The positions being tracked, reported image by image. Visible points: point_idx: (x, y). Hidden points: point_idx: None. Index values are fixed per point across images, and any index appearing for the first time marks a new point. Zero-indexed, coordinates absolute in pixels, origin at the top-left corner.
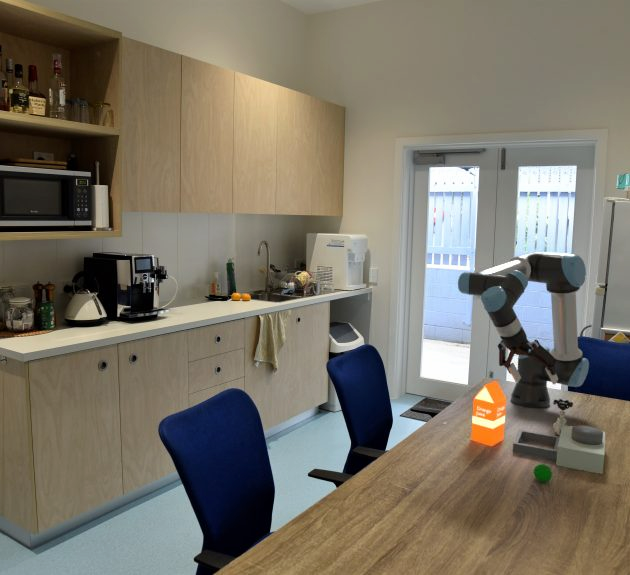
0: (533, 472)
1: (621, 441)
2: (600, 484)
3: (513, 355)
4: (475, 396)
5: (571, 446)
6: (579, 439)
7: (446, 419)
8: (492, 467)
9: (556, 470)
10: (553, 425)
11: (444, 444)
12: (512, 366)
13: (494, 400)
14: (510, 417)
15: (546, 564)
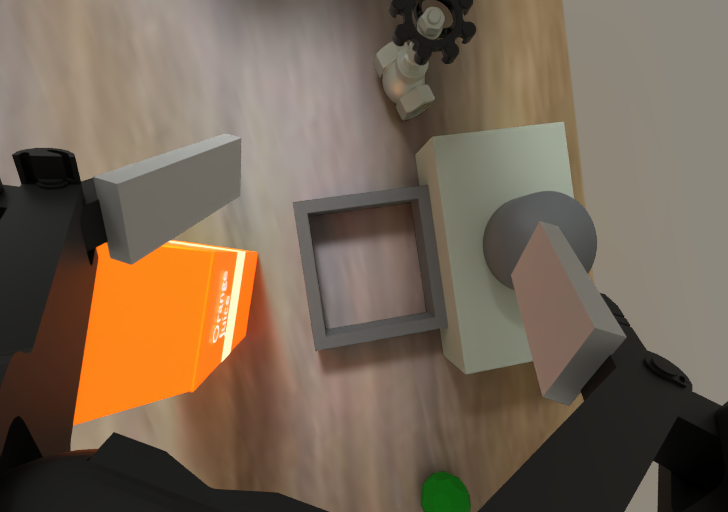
0: (421, 505)
1: (559, 38)
2: (557, 403)
3: (58, 340)
4: None
5: (501, 342)
6: None
7: (3, 180)
8: (302, 492)
9: (452, 390)
10: (374, 58)
11: (108, 425)
12: (137, 216)
13: (180, 376)
14: (206, 7)
15: None
